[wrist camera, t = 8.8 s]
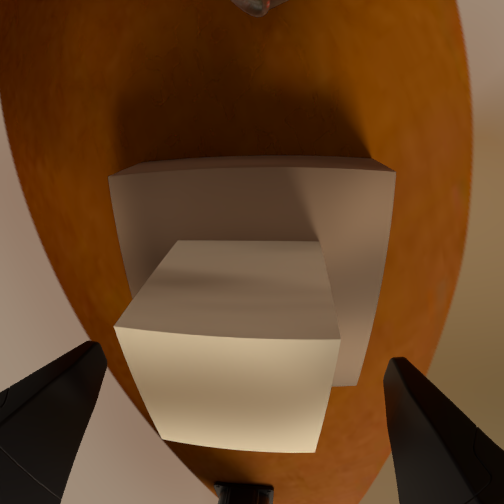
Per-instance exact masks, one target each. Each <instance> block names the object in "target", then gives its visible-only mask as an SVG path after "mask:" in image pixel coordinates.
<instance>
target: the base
mask: <svg viewBox="0 0 504 504" xmlns="http://www.w3.org/2000/svg"><path fill="white" fill-rule="evenodd" d="M395 179H396V172H395V171H394V170H392V169H390V168H388V167H387V166H385V165H383V164H381V163H379V162H378V161H376V160H374V159H371V158H356V157H336V156H301V155H257V156H222V157H202V158H186V159H173V160H161V161H150V162H141V163H139V164H136V165H134V166H131V167H129V168H127V169H124V170H122V171H120V172H117V173H115V174H113V175H110V176H108V181H109V187H110V194H111V200H112V206H113V212H114V218H115V223H116V228H117V234H118V239H119V244H120V248H121V253H122V258H123V262H124V266H125V271H126V275H127V279H128V283H129V287H130V291H131V295H132V299H134V297H135V296H136V295H137V293H138V292H139V291H140V289H141V288H142V286H143V285H144V284H145V282H146V281H147V280H148V278H149V277H150V276H151V274H152V273H153V272H154V270H155V269H156V268H157V267H158V265H159V264H160V263H161V261H162V260H163V259H164V257H165V256H166V255H167V254H168V252H169V251H170V250H171V248H172V247H173V246H174V245H175V243H176V242H177V241H178V240H215V241H318V242H320V245H321V249H322V253H323V257H324V261H325V266H326V270H327V274H328V279H329V283H330V288H331V293H332V297H333V302H334V307H335V312H336V317H337V322H338V327H339V332H340V337H341V342H340V347H339V352H338V358H337V363H336V368H335V372H334V377H333V382H332V386H355V385H357V382H358V379H359V375H360V372H361V368H362V365H363V361H364V357H365V354H366V350H367V346H368V342H369V338H370V334H371V330H372V326H373V321H374V317H375V312H376V308H377V303H378V298H379V293H380V288H381V283H382V278H383V272H384V266H385V260H386V254H387V248H388V241H389V234H390V226H391V218H392V210H393V201H394V190H395Z"/></svg>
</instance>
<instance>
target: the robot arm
mask: <svg viewBox="0 0 504 504" xmlns="http://www.w3.org/2000/svg"><path fill="white" fill-rule="evenodd" d="M106 368H107V359H106V357H105V354H104V352H103V350H102V347H101V345H100V344H99V343H98V342H94V341H86V342H84V343H83V344H81V345H79V346H78V347H76V348H74V349H73V350H71V351H69V352H68V353H66V354H64V355H62V356H61V357H59V358H57V359H56V360H54V361H52V362H51V363H49V364H47V365H46V366H44V367H42V368H40V369H39V370H37V371H35V372H34V373H32V374H30V375H29V376H27V377H25V378H24V379H22V380H20V381H19V382H17V383H15V384H14V385H12V386H10V388H7V389H5V390H4V391H2V392H0V504H60V503H61V499H62V496H63V493H64V490H65V487H66V484H67V480H68V477H69V474H70V472H71V468H72V466H73V462H74V460H75V457H76V454H77V452H78V449H79V446H80V443H81V441H82V438H83V435H84V433H85V430H86V428H87V425H88V422H89V420H90V417H91V414H92V412H93V410H94V407H95V404H96V401H97V398H98V395H99V391H100V388H101V385H102V381H103V378H104V375H105V371H106ZM383 384H384V394H385V405H386V417H387V427H388V433H389V439H390V444H391V450H392V455H393V461H394V467H395V474H396V480H397V488H398V494H399V503H400V504H504V450H502V449H501V448H500V447H499V446H498V445H496V444H495V443H494V442H493V441H492V440H491V439H490V438H489V437H488V436H487V435H486V434H485V433H484V432H483V431H482V430H481V429H480V428H479V427H477V428H476V425H475V424H474V423H473V422H472V421H471V420H470V419H469V418H468V417H467V416H466V415H465V414H464V413H463V412H462V411H461V410H460V409H459V408H458V407H457V406H456V405H455V404H454V403H453V402H452V401H451V400H450V399H448V398H447V397H446V396H445V395H444V394H443V393H442V392H441V391H440V390H439V389H438V388H437V387H436V386H435V385H434V384H433V383H432V382H430V380H428V379H427V378H426V377H425V376H424V375H423V374H422V373H421V372H420V371H419V370H418V369H417V368H416V367H415V366H414V365H412V364H411V363H410V362H409V361H408V360H407V359H406V358H405V357H393V358H391V359H390V361H389V364H388V367H387V369H386V372H385V375H384V380H383ZM214 488H215V491H216V493H217V495H218V497H219V501H218V504H273V493H274V488H273V487H263V486H248V485H236V484H227V483H219V482H215V483H214Z"/></svg>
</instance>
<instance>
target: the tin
mask: <svg viewBox="0 0 504 504" xmlns="http://www.w3.org/2000/svg"><path fill="white" fill-rule="evenodd" d="M231 1H232V2H233V3H234V4H235V5H236V6H237V7H239V8H240V9H241V10H243V11H244V12H246V13H248V14H249V15H252V16H254V17H262V16H264V15H265V14H266V13H267V12H268V10H270V9H271V8H273V7H275V6H277V5H280V4H282V3H284V2H286V1H288V0H231Z"/></svg>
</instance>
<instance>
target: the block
mask: <svg viewBox="0 0 504 504" xmlns="http://www.w3.org/2000/svg"><path fill="white" fill-rule="evenodd" d="M114 329H115V331H116V334H117V337H118V340H119V343H120V345H121V348H122V351H123V353H124V356H125V358H126V361H127V364H128V366H129V369H130V371H131V373H132V376H133V378H134V381H135V383H136V385H137V388H138V390H139V392H140V394H141V397H142V399H143V401H144V403H145V406H146V408H147V410H148V412H149V414H150V416H151V418H152V420H153V422H154V424H155V426H156V428H157V430H158V432H159V434H160V436H161V438H162V439H164V440H169V441H175V442H180V443H186V444H193V445H199V446H207V447H215V448H223V449H233V450H245V451H260V452H289V453H308V452H315V450H316V446H317V443H318V439H319V435H320V431H321V428H322V424H323V420H324V416H325V412H326V408H327V404H328V399H329V395H330V391H331V386H332V382H333V377H334V372H335V368H336V363H337V358H338V352H339V347H340V342H341V337H340V332H339V327H338V322H337V317H336V312H335V307H334V302H333V297H332V293H331V288H330V283H329V279H328V274H327V270H326V266H325V261H324V257H323V253H322V249H321V245H320V242H318V241H215V240H178V241H177V242H176V243H175V245H174V246H173V247H172V248H171V250H170V251H169V252H168V254H167V255H166V256H165V257H164V259H163V260H162V261H161V263H160V264H159V265H158V267H157V268H156V269H155V270H154V272H153V273H152V274H151V276H150V277H149V278H148V280H147V281H146V282H145V284H144V285H143V286H142V288H141V289H140V291H139V292H138V293H137V295H136V296H135V297H134V299H133V300H132V301H131V303H130V304H129V306H128V307H127V308H126V310H125V311H124V313H123V314H122V315H121V317H120V318H119V320H118V321H117V322H116V324H115V325H114Z"/></svg>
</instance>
